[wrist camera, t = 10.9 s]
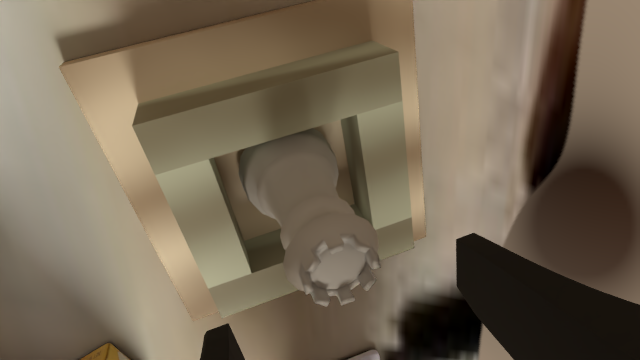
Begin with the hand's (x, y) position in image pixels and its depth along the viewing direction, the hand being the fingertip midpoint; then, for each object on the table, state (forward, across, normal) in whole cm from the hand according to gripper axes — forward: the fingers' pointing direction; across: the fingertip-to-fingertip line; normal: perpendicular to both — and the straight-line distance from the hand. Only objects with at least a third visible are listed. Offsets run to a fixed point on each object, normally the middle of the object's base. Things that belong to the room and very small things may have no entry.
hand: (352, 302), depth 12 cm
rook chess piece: (+9, 0, -1) cm, 9 cm away
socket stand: (+9, 0, 0) cm, 9 cm away
